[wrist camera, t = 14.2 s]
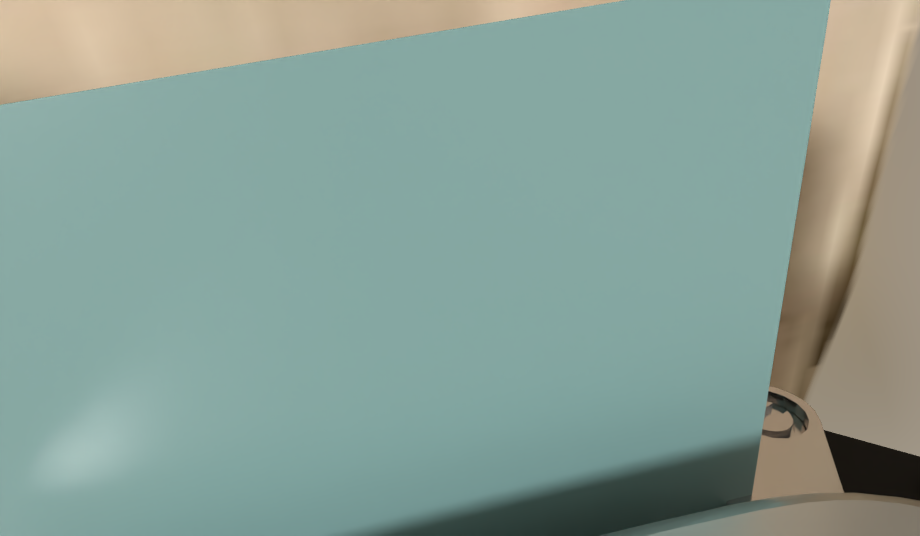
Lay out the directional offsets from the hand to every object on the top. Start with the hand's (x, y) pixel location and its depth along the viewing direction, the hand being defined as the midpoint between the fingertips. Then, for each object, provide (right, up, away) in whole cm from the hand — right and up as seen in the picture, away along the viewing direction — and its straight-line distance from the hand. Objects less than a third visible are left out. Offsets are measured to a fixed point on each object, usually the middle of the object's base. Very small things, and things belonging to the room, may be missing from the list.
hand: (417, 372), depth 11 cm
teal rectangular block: (0, +1, +2) cm, 2 cm away
